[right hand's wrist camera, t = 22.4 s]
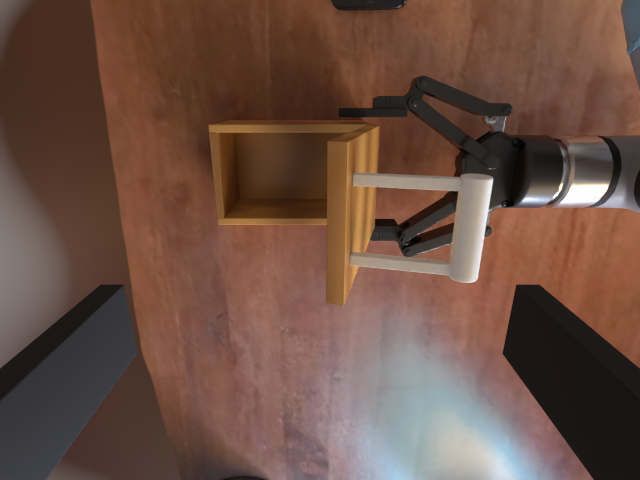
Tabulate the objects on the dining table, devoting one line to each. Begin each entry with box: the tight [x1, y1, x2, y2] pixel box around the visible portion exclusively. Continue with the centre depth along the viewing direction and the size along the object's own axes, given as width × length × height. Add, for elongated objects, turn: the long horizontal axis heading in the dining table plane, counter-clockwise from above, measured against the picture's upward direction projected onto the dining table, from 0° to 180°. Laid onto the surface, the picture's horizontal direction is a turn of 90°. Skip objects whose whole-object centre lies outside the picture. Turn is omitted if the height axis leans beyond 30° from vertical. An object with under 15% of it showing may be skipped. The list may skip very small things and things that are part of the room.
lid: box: [326, 125, 493, 305], centre depth 28 cm, size 16×10×9 cm
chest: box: [208, 120, 372, 225], centre depth 42 cm, size 16×10×9 cm, turn 90°
